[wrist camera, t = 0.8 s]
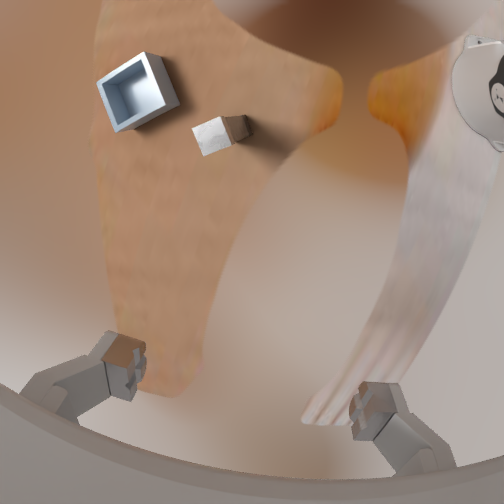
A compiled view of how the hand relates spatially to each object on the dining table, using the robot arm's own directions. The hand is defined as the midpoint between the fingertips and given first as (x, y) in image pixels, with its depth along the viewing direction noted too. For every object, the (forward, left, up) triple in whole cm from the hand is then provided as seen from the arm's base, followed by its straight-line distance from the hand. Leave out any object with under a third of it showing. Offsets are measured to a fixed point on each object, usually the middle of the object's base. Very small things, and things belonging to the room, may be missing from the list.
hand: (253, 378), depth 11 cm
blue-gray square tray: (+15, -19, -36) cm, 44 cm away
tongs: (+4, -8, -36) cm, 37 cm away
